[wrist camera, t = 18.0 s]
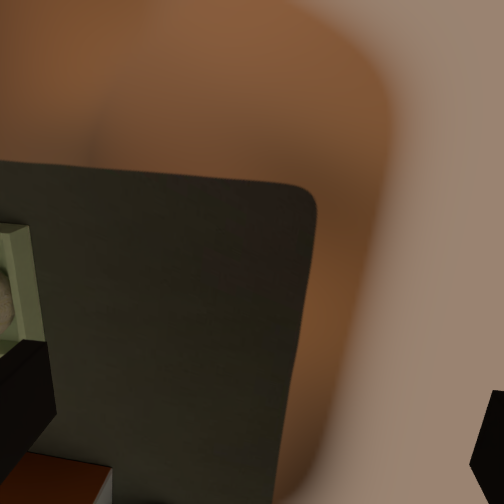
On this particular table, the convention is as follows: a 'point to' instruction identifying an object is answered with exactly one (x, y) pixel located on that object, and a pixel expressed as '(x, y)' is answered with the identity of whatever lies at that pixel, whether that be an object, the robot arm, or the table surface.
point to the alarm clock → (56, 482)
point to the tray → (20, 286)
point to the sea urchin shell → (5, 303)
